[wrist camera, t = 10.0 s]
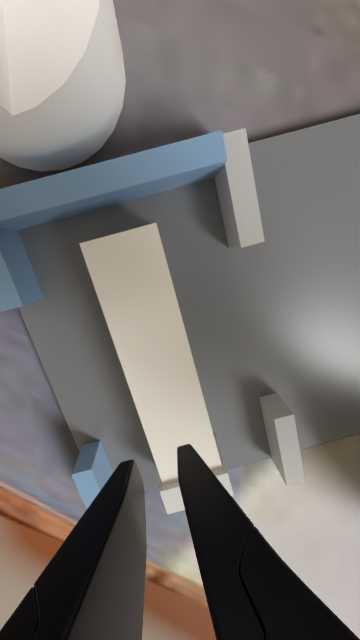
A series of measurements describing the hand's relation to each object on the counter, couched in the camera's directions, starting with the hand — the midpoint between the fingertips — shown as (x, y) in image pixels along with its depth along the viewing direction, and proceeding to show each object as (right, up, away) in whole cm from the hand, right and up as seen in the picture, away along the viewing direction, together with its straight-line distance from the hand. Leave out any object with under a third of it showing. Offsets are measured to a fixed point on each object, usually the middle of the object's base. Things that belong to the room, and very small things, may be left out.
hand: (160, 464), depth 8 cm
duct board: (+5, +4, +10) cm, 12 cm away
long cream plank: (-1, +2, +9) cm, 9 cm away
